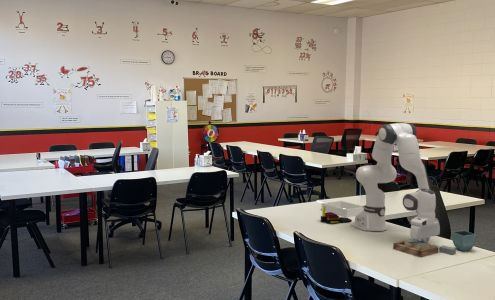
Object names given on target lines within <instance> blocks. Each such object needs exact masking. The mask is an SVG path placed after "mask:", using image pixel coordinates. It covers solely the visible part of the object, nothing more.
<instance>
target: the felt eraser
mask: <svg viewBox="0 0 495 300" xmlns="http://www.w3.org/2000/svg"><path fill="white" fill-rule="evenodd" d="M438 247H439V250H438V253H443V254H446V255H450V256H453V255H456V254H457V249H456V247H451V246H448V245H443V244H442V245H440V246H438Z"/></svg>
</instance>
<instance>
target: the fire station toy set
mask: <svg viewBox="0 0 495 300" xmlns="http://www.w3.org/2000/svg"><path fill="white" fill-rule="evenodd" d="M321 211H322V212H321V213H322V215H320V223H323V224H328V225H335V224H349V223H350V224H351V223H352V219H351V218H350V217H347V218H346V217H343V216H339V215H337V214H335V213H332V212H325V206H324V207H323V208H322V207H321Z"/></svg>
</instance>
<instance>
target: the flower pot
mask: <svg viewBox="0 0 495 300" xmlns="http://www.w3.org/2000/svg"><path fill="white" fill-rule="evenodd" d="M451 238H452V239H451V240H452V244H453V246H454V248H456V250H459V251H461V252H466V251H471V250H472V249H473V247H474V246H475V244H476V243H475V242H476V239H477V234H475V233H472V232H469V231H467V230H455V231H451Z"/></svg>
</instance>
